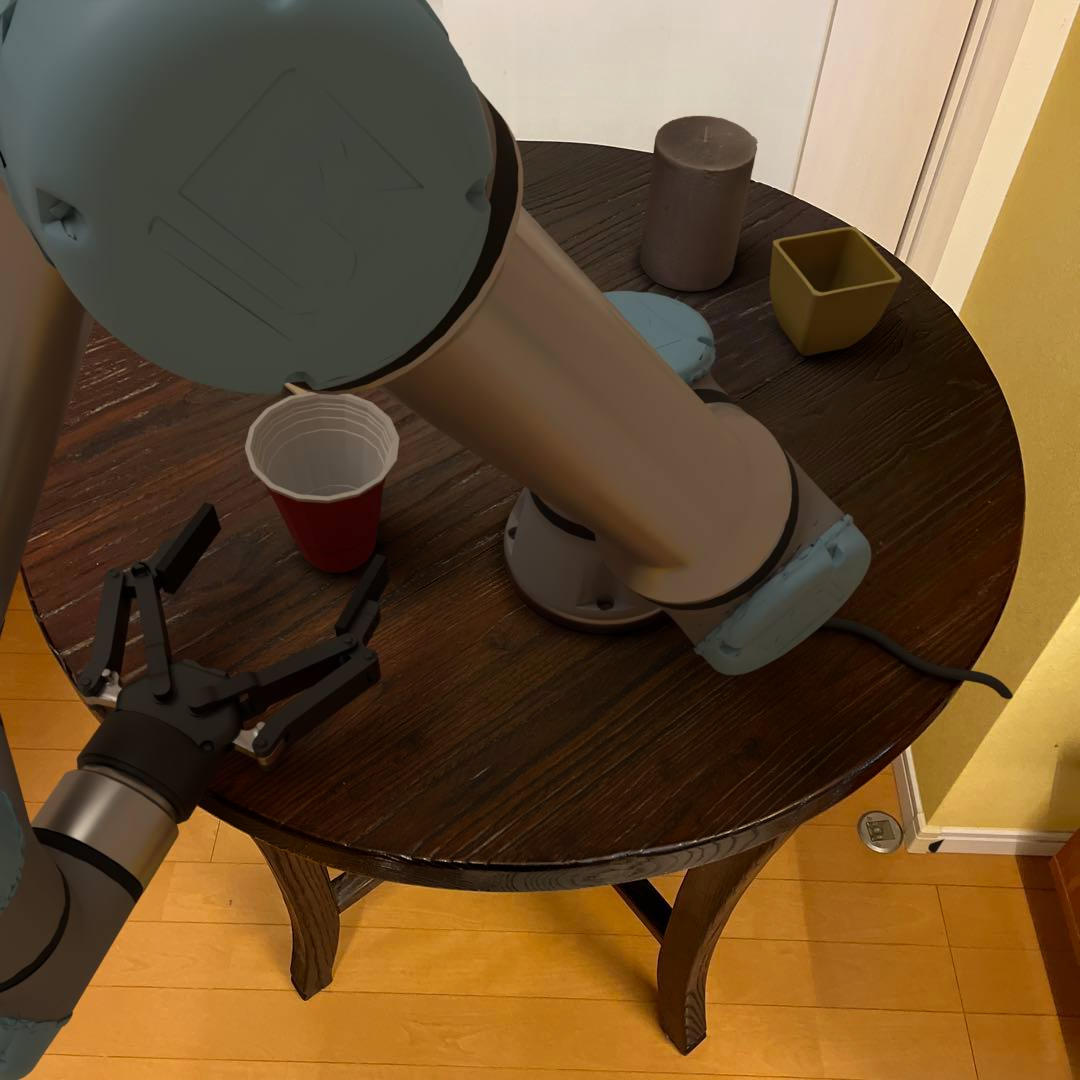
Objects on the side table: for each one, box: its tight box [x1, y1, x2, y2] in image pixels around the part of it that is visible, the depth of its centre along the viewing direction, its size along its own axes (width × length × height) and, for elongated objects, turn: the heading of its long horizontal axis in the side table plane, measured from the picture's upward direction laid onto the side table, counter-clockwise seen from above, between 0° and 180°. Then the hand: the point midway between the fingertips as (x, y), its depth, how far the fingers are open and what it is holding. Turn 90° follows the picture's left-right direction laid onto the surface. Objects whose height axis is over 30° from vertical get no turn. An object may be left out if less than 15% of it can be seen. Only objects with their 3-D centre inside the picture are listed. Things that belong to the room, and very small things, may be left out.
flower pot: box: [769, 226, 902, 357], centre depth 99 cm, size 9×9×9 cm
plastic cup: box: [244, 392, 400, 574], centre depth 80 cm, size 11×11×12 cm
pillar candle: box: [639, 115, 759, 292], centre depth 104 cm, size 10×10×15 cm
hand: (297, 540), depth 76 cm, fingers open, 13 cm apart
